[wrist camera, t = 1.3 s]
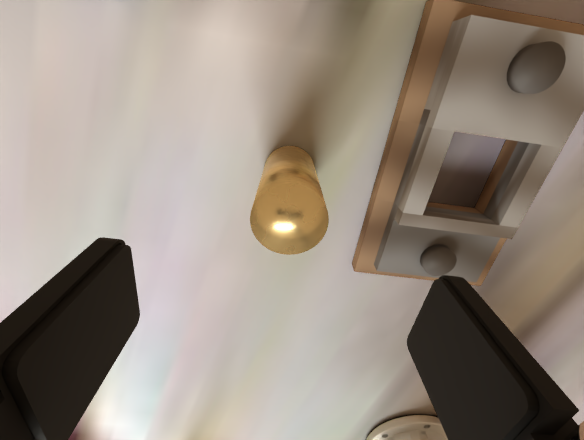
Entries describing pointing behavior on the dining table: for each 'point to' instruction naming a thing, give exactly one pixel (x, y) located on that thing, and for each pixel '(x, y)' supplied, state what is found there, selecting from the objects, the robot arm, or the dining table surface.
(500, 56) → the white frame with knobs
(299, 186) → the pin
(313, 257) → the dining table surface
